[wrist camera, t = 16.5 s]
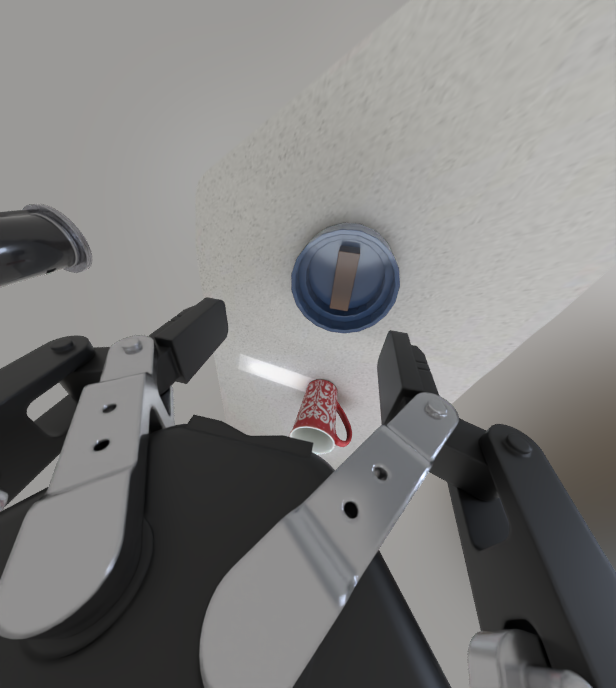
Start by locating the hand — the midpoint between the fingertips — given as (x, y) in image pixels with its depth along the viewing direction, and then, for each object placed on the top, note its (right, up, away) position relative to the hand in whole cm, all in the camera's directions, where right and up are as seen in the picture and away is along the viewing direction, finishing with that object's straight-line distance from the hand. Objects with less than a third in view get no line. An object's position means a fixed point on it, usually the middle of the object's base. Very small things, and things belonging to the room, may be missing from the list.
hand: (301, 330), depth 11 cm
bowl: (+6, +11, +26) cm, 29 cm away
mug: (+5, -12, +43) cm, 46 cm away
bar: (+6, +10, +26) cm, 28 cm away
